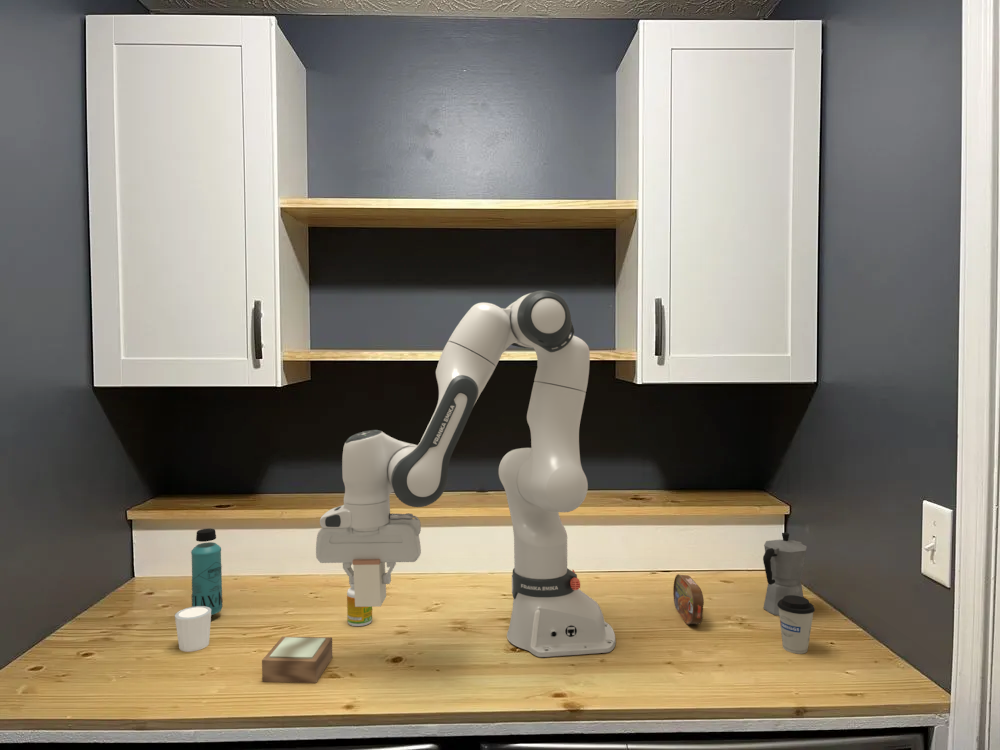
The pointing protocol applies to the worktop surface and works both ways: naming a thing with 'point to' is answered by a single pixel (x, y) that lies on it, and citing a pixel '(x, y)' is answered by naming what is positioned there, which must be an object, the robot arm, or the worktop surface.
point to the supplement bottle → (357, 610)
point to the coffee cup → (795, 623)
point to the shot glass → (193, 628)
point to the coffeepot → (783, 570)
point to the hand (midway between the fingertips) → (370, 583)
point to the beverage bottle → (207, 572)
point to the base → (297, 659)
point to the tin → (688, 599)
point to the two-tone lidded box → (369, 582)
